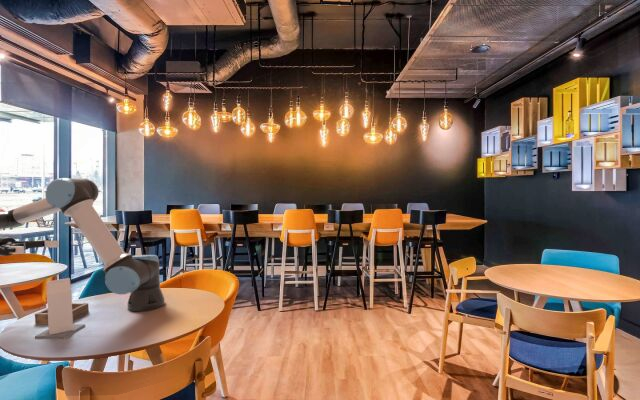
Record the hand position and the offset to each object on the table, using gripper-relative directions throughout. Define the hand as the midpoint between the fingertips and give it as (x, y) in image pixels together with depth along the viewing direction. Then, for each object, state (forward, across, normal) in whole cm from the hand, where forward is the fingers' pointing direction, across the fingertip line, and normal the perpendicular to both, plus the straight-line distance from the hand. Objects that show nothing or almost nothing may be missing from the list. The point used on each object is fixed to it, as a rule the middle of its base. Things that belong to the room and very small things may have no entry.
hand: (41, 246), depth 146 cm
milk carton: (+14, +6, -30) cm, 34 cm away
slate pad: (+14, +6, -31) cm, 34 cm away
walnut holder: (+1, -6, -31) cm, 31 cm away
